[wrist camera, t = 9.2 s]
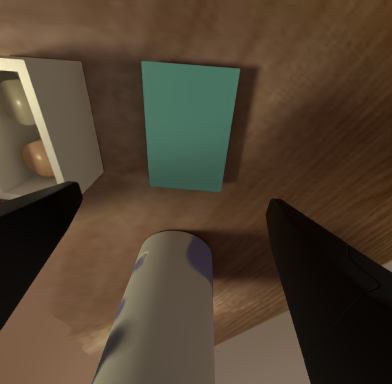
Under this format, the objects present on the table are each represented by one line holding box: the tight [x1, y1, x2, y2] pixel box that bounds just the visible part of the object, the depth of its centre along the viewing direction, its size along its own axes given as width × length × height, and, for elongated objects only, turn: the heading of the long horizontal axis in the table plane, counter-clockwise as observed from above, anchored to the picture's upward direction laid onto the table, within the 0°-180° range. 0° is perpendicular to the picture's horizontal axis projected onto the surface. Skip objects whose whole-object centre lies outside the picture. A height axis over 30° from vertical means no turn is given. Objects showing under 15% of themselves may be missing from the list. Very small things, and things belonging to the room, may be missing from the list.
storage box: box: [0, 55, 104, 200], centre depth 16 cm, size 10×6×6 cm, turn 176°
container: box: [92, 231, 215, 384], centre depth 20 cm, size 10×10×20 cm
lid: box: [141, 61, 240, 192], centre depth 18 cm, size 11×7×2 cm
